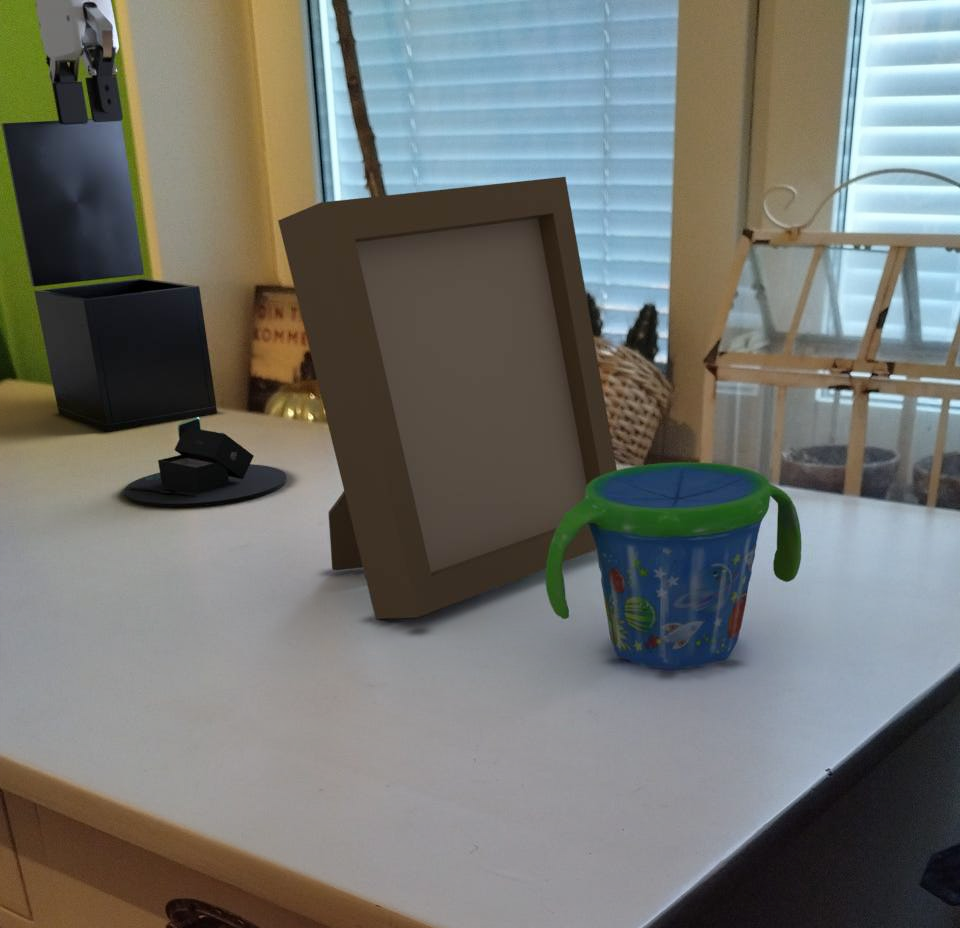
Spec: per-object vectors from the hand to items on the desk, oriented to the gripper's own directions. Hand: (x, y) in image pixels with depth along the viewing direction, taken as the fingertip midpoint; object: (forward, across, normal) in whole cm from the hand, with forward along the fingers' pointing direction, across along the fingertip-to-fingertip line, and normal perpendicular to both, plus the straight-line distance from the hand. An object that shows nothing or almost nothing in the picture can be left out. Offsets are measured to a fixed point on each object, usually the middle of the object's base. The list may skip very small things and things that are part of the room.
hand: (90, 122), depth 141 cm
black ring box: (+31, -39, +10) cm, 51 cm away
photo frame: (+31, -77, +8) cm, 83 cm away
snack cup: (+31, -100, +8) cm, 105 cm away
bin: (+30, +1, 0) cm, 30 cm away
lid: (+8, +8, 0) cm, 11 cm away
